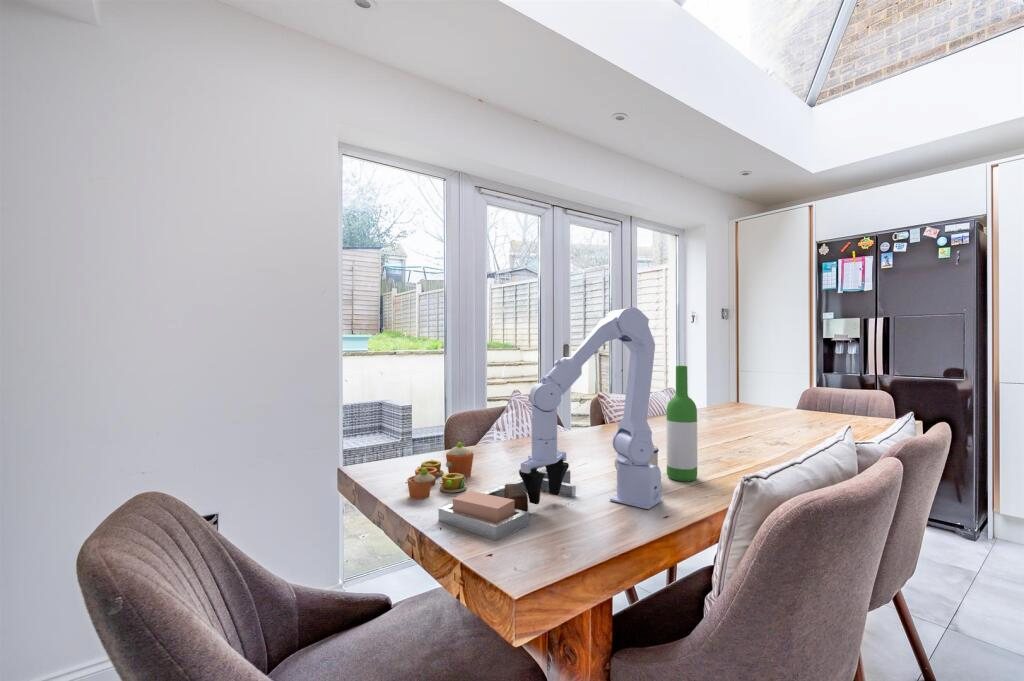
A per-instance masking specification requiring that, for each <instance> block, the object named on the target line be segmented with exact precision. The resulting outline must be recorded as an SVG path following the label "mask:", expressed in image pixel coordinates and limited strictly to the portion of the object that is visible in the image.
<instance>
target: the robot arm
mask: <svg viewBox="0 0 1024 681" xmlns="http://www.w3.org/2000/svg"><path fill="white" fill-rule="evenodd" d="M649 322H650V319H649V317H647V316H646V315H645V313H644V312H643V311H642V310H640V309H639V308H636V307H627V308H623V309H614V310H610V311H609V312H608V313H607V315H606V316H605V317H603V318H602V319H601V320H599V322H598V323H597V324H596V325H595V327H594V328H593V329H592V330H591V332H590V333H589V334H588V335H587V336H586V337H585V338H584V340H583V341H582V342H581V343H580V345H579V346H578V347H577V348H576V349H575V351H574V352H573V353H572V354H571V356H566V357H565V356H564V357H561V359H556V360H555V361H554V362H553V365H554V366H552V367H553V368H552V369H550V371H549V372H548V373H546V374H545V376H544V375H543V376H541V378H540V379H539V380H540V381H541V382H539V383H536V384H535V385H533V386H532V388H531V389H530V393H529V394H528V397H527V398H528V401H529V403H530V404H531V405H532V406H531V454H529V455H527V457H528V458H527V459H526V460H523V462H522V461H521V462H520V469H518V475H519V476H520V478H521V479H522V480H523V482H524V484H525V487H526V494H527V497H528V502H529V503H530V504H534V505H539V504H540V500H541V491H542V490H541V484H542V480H543V478H544V475H545V474H543V473H538V471H539V470H538V469H542V468H544V467H545V469H546V470H547V474H548V482H549V492H548V493H549V494H550V495H553V496H555V497H556V496H559V495H560V494H559V493H560V488H561V484H562V480H563V477H564V475H565V473H566V471H567V470H569V467H570V466H569V465H570V464H569V463H568V462H566V461H567V452H566V451H561V450H558V414H557V412H558V411H557V410H558V409H557V408H558V407H559V406H560V404H561V402H562V396H564V395H565V393H566V392H567V391H568V390H569V389H570V388H571V387H572V386H573V385H574V384H575V382H577V380H578V379H579V378H580V377H581V376H582V374H583V373H582V371H583V370H582V368H583V365H585V364H586V362H587V361H588V360H590V359H591V357H593V355H594V354H595V353H596V352H598V351H599V350H600V349H601V347H602V346H604V344H606V342H607V343H608V342H609V341H613V340H617V339H618V341H621V342H622V343H623V344H624V345H625V347H626V348H627V349H628V350H629V352H630V353H629V362H628V369H627V370H628V372H627V380H626V389H625V390H626V391H625V400H624V406H623V407H624V408H623V416H622V419H621V420H620V421H619V423H618V425H617V430H616V432H615V434H614V436H613V437H612V438H613V439H612V448H613V450H614V451H615V452H616V453H617V456H616V458H617V470H616V495H613V496H611V497H610V498H609V501H610V502H615V503H618V504H624V505H628V506H632V507H637V508H641V509H643V510H644V509H645V510H649V509H651V508H653V507H654V506H656V505H657V504H659V503H661V502H662V501H663V498H662V473H661V472H662V471H661V469H660V467H659V465H658V466H655V465H652V464H650V463H649V461H650V459H651V458H652V457H653V454H654V443H653V439H652V436H653V431H652V428H651V427H650V425H649V423H648V415H649V408H650V397H651V388H652V378H653V367H654V362H655V361H654V360H655V351H656V343H655V340H654V337H653V335H652V331H651V329H650V326H649Z"/></svg>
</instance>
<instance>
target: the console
mask: <svg viewBox="0 0 1024 681" xmlns="http://www.w3.org/2000/svg"><path fill="white" fill-rule="evenodd" d="M537 471H538V473H543V474H545V475H544V478H546V479H548V474H547V470H546V468H543V469H540V470H537ZM562 482H564V483H568V484H571V470H569V469H567V471H566V473H565V475H564V477H563V480H562Z"/></svg>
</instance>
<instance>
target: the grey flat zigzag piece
mask: <svg viewBox="0 0 1024 681" xmlns="http://www.w3.org/2000/svg"><path fill="white" fill-rule="evenodd" d="M508 484H519V485H522V487H523V489H524V491H525V492H527V490H526V487H525V484H524V482H523V480H522V478H521V479H518V480H516V481H512V482H509V483H508ZM505 485H506V484H504V485H501V486H498V487H496V488H495V487H494V488H492V489H489V490H486V491H483V492H482V493H483V494H488V495H493V496H498V497H503V498H504V497H505V496H504V495H505V494H504V490H505ZM576 487H577V486H576V484H571V483H570V484H568V483H564V482H562V484H561V488H560V493H559V495H561V496H566V497H569V498H573V496H574V497H575V495H576ZM544 490H545V492H548V491H549V482H548V479H546V478H543V480H542V484H541V490H540V491H544ZM529 515H530V514H529V511H527V512H525V511H522V510H518V509H515V515H514V516H511V517H509V518H507V519H505V520H502V521H500V522H498V523H492V522H489V521H486V520H483V519H480V518H477V517H474V516H470V515H467V514H464V513H461V512H458V511H455V510H453V502H452V503H449V504H447V505H444V506H441V507H439V508H438V521H439V522H442V523H445V524H448V525H451V526H453V527H456V528H460V529H462V530H465V531H467V532H470V533H474V534H476V535H478V536H482V537H483V538H484V537H485V538H486V539H487V538H488V539H490V540H494V542H496V541H499V540H500V539H503V538H504V537H507V536H508V535H510V534H514V533H516V532H517V531H519V530H521V529H523V528H526V527H527V526H529V524H530V522H529V521H530V520H529V519H530V518H529V517H530V516H529Z"/></svg>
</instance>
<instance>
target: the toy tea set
mask: <svg viewBox="0 0 1024 681" xmlns="http://www.w3.org/2000/svg"><path fill="white" fill-rule="evenodd" d="M474 456H475V455H474V452H473V451H471V450H470V448H468V447H466V446H463V442H460V441H458V442H457V443H456V446H453V447H452V448H451V449H449V450H448V452H446V454H445V458H446V463H445V466H446V467H447V471H448V473H444V472H445V471H444V470H442V469H441V466H442V462H441V461H439V460H434V459H431V460H425V461H422V462H421V465H418V467H417V468H416V469H415V470H414V473H415V475H412V476H410V477H408V478H407V479H406V480H407V487H408V493H409V495H408V496H409V498H410V499H413V500H424V499H427V498H429V497H430V494H431V489H432V486H431V485H433V486H435V485H436V480H437V478H439V477H441V479H442V480H440V481H439V484H440V486H439V490H440V491H441V492H444V493H450V494H454V493H461V492H464V491H465V490H467V488H468V486H467V484H466V483H465V482H466V481H467V480H466V479H464V478H467V479H469V478H471V475H472V470H473V469H472V467H473V462H474ZM438 476H439V477H438ZM468 477H469V478H468ZM434 484H435V485H434ZM423 498H424V499H423Z"/></svg>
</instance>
